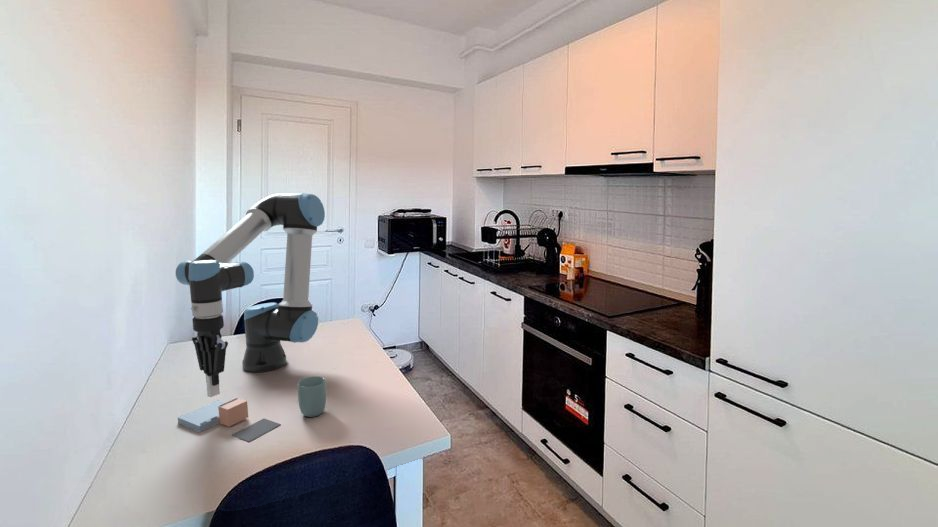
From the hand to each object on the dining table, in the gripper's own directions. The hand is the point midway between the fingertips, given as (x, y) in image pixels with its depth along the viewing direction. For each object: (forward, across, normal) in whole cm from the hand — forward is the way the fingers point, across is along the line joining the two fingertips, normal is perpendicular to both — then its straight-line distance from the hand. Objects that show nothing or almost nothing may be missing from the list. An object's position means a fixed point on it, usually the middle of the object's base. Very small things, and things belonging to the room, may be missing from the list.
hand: (213, 394), depth 129 cm
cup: (+7, +24, +14) cm, 29 cm away
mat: (+7, +17, 0) cm, 19 cm away
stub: (+7, +8, 0) cm, 10 cm away
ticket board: (+7, 0, -2) cm, 7 cm away
